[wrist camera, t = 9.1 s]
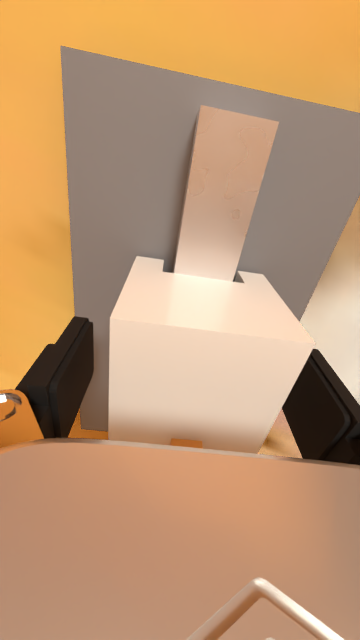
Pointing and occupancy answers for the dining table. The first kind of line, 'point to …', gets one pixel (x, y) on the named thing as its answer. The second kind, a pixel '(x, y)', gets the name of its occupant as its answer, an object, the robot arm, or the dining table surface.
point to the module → (200, 359)
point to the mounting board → (170, 182)
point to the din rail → (221, 191)
